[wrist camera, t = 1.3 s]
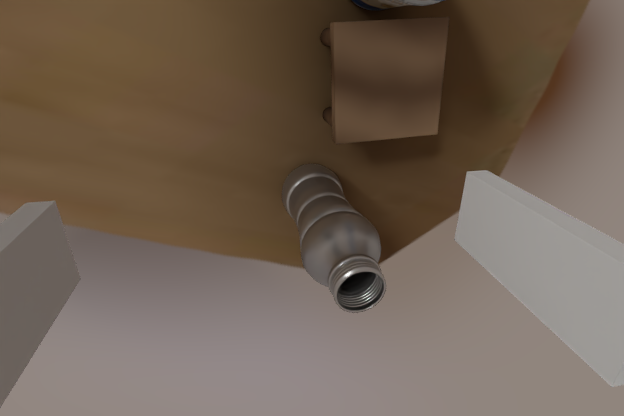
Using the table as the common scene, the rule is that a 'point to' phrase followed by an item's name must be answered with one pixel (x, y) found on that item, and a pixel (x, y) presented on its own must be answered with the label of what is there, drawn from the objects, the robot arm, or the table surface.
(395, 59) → the brown piece
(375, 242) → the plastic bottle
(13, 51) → the table surface
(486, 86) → the table surface
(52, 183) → the table surface
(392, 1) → the blue lidded jar
